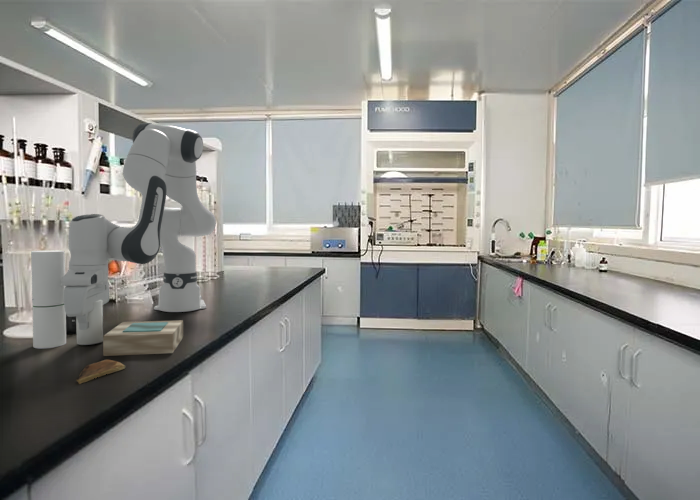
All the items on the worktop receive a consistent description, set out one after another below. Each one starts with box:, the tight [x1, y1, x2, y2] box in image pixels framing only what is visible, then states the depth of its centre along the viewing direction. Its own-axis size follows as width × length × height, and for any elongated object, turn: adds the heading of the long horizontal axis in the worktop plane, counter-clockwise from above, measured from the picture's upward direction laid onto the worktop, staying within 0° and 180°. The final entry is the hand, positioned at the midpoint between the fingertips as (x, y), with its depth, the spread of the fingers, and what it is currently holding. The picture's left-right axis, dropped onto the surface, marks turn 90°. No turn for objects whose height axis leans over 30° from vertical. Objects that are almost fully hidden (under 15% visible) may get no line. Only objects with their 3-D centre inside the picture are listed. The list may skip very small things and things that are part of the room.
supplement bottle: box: [66, 315, 77, 335], centre depth 123 cm, size 7×7×12 cm
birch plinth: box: [102, 319, 184, 357], centre depth 111 cm, size 15×16×5 cm
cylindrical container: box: [30, 249, 67, 350], centre depth 109 cm, size 7×7×25 cm
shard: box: [76, 358, 126, 385], centre depth 90 cm, size 11×8×2 cm
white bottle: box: [76, 295, 104, 346], centre depth 111 cm, size 6×6×13 cm
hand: (89, 325), depth 111 cm, fingers closed on white bottle, 6 cm apart
